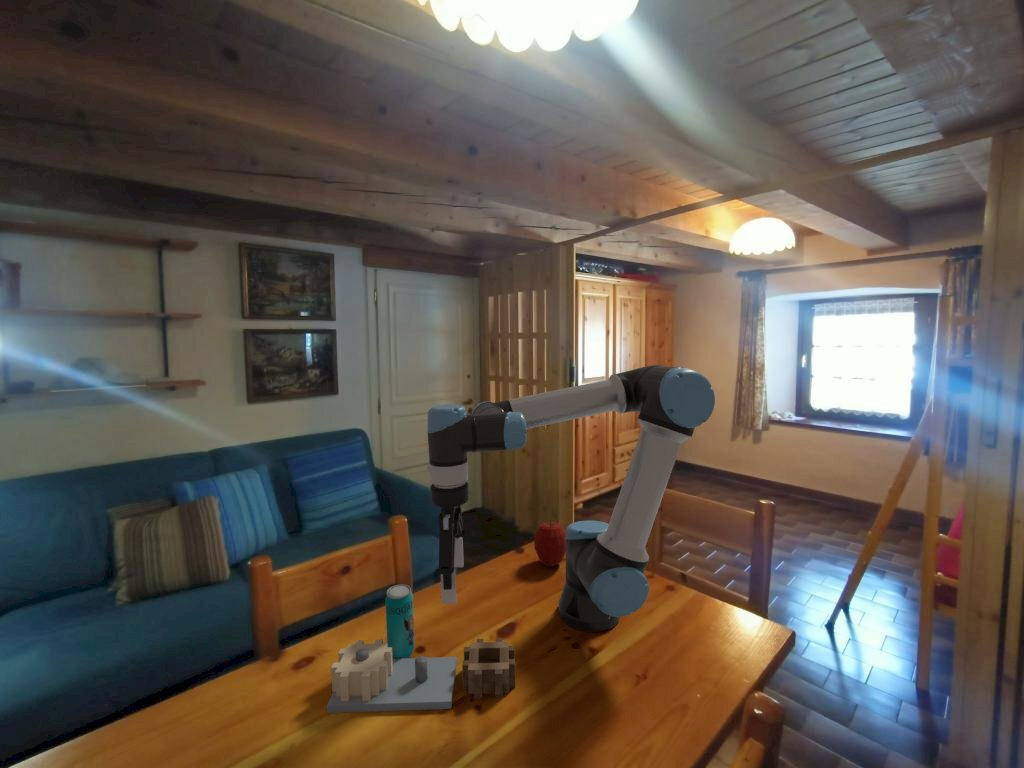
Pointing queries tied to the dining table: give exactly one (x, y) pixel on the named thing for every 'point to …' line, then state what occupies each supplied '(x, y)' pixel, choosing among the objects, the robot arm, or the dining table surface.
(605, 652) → the dining table surface
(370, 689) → the gear board
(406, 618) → the beverage can
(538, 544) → the apple
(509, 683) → the walnut gear
